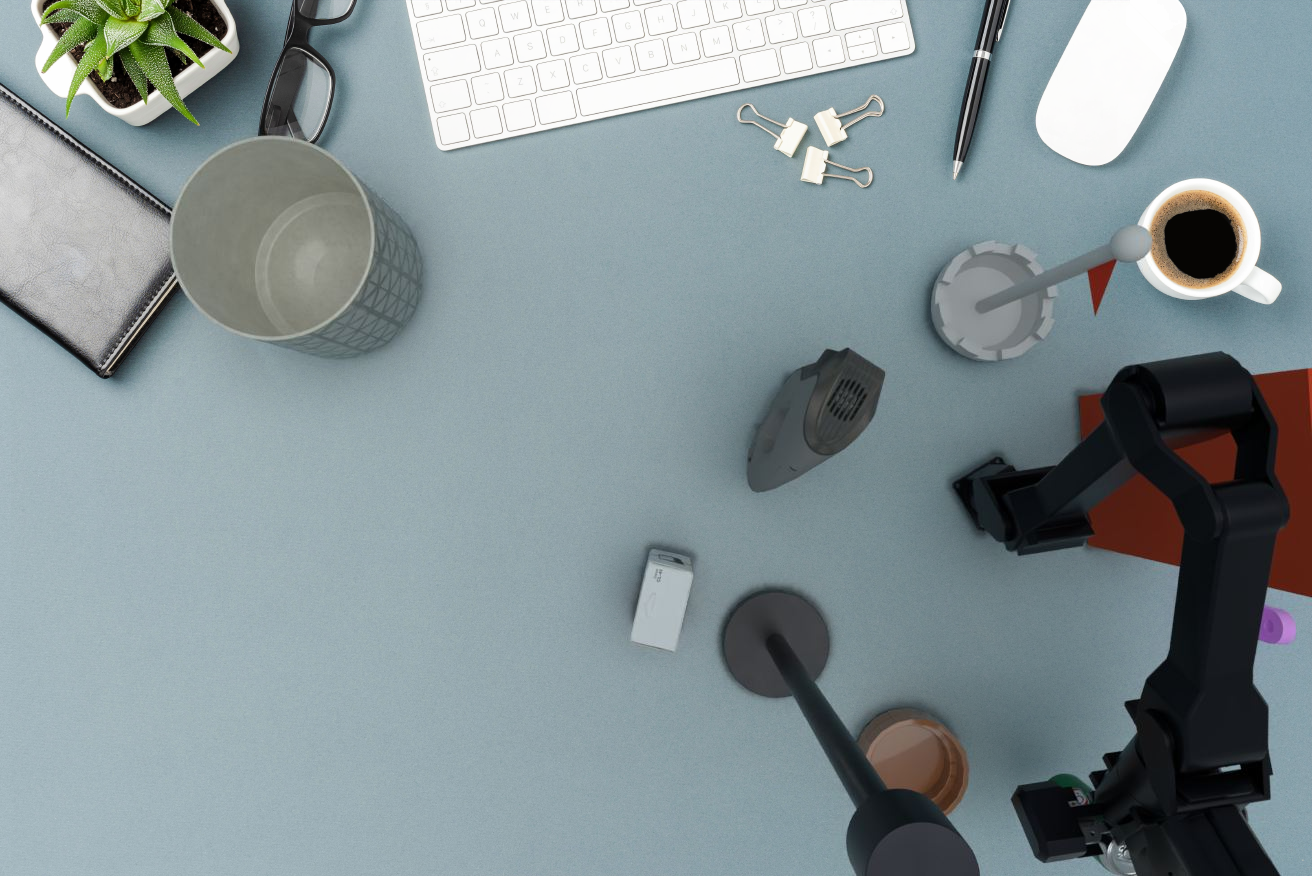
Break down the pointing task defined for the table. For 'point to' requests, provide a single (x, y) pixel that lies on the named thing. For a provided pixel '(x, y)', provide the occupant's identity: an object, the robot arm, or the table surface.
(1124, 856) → the soda can
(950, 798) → the bowl
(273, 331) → the planter
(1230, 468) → the file binder
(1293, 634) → the bracket
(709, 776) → the table surface
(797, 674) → the desk lamp
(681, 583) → the ink box
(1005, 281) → the flag stand
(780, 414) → the handheld device
